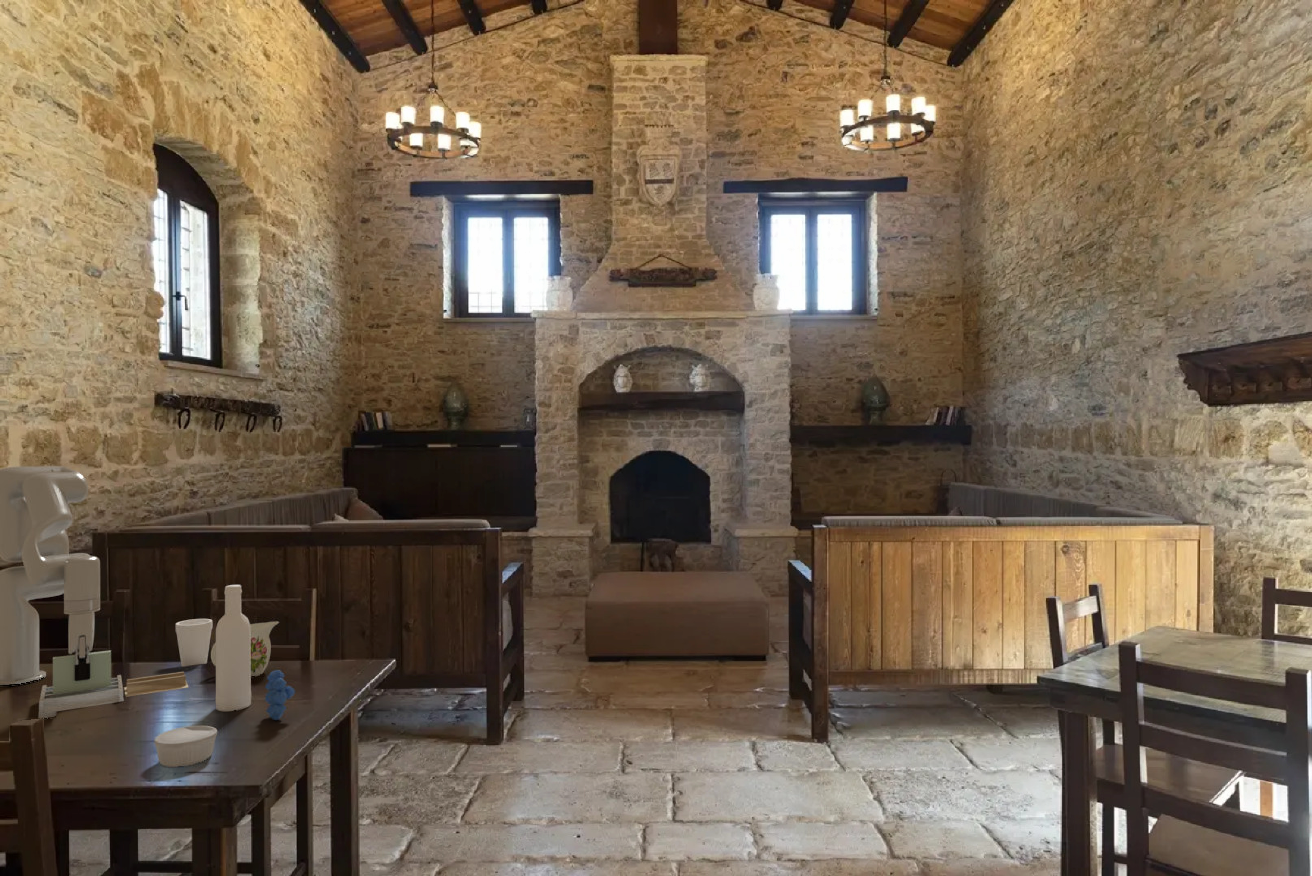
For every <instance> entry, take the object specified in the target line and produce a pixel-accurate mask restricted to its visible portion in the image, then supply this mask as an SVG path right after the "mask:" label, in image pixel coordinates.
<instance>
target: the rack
mask: <svg viewBox="0 0 1312 876" xmlns="http://www.w3.org/2000/svg"><path fill="white" fill-rule="evenodd" d="M123 686H124V685H123V681H122V675H121V674H118V675H117V677H111V686H105V687H98V688H91V689H84V690H77V691H70V692H63V693H56V694H53V686H47V684H44V685H42V687H41V692H40V697H39V701H38V719H39V718H43V720H45V719H44V717H45V718H47V719H48V717H53V716H56V717H57V712H62V711H67V710H69V711H70V710H75V709H81V708H87V707H93V706H100V705H101V706H102V705H108V704H114V703H121V702H124V701H125V700H124V687H123ZM47 719H46V720H47ZM48 720H49V719H48Z"/></svg>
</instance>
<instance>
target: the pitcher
mask: <svg viewBox="0 0 1312 876" xmlns="http://www.w3.org/2000/svg"><path fill="white" fill-rule="evenodd" d="M279 623H280V622H279V621H268V622H257V623H250V627H251V676H255V677H258V676H261V675H262V674H263V673H264V671H265V670H266V669H267V667H268V664H269V662H270V658H271V657H270V656H271V652H272V650H271V648H272V647H271V645H272V644H271V643H272V642H271V639H270V633H271V632H272V630H273V628H274V627H275V626H276V625H278V624H279ZM210 659H211V662H212V664H213V665H214V666H215V667H216V642H215V643H213V645H212V646H211V650H210ZM260 674H261V675H260Z"/></svg>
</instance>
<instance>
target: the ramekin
mask: <svg viewBox="0 0 1312 876" xmlns="http://www.w3.org/2000/svg"><path fill="white" fill-rule="evenodd" d="M217 729H218V728H215V727H213V726H210V725H209V726H208V725H191V726H189V725H188V726H183V727H178V728H173V729H170V730H167V731H164V732H162V733H160V734H159V735H157V736H156V737H154V740H153V741H154V742H153V743H154V746H155V748H156V754H157V759H158V762H159V763H160V764H161V765H162V766H164V767H166V768H179V767H178V766H184V767H189V765H190V766H194V765H196V764H195V763H197V764H199V763H198V762H200V763H202V761H203V762H205V761H206V759H207V758H208V759H210V758H211V756H212V754H213V752H214V748H215V742H216V737H217V736H218V730H217ZM208 759H207V760H208ZM204 760H205V761H204ZM193 764H194V765H193Z"/></svg>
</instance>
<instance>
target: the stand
mask: <svg viewBox="0 0 1312 876" xmlns="http://www.w3.org/2000/svg"><path fill="white" fill-rule="evenodd" d="M186 678H187V677H186V674H185V671H179V672H172V673H163V674H158V675H151V676H143V677H136V678H128V679H126V686H125V687H123V691H124V696H125V697H126V698H127V697H133V696H142V695H146V694H147V695H148V694H153V693H160V692H168V691H174V690H181V689H187V688H189V684H188V682H187V679H186Z"/></svg>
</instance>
